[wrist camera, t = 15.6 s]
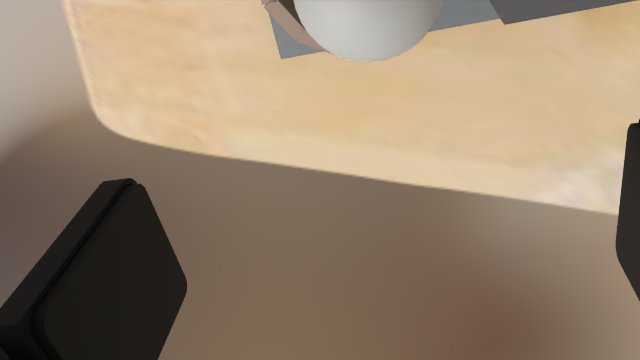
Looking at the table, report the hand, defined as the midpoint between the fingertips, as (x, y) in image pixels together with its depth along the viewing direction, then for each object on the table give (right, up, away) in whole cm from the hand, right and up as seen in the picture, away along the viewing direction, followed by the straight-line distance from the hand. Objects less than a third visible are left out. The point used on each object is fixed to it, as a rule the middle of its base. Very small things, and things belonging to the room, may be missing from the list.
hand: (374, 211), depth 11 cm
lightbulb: (+2, +13, +18) cm, 22 cm away
